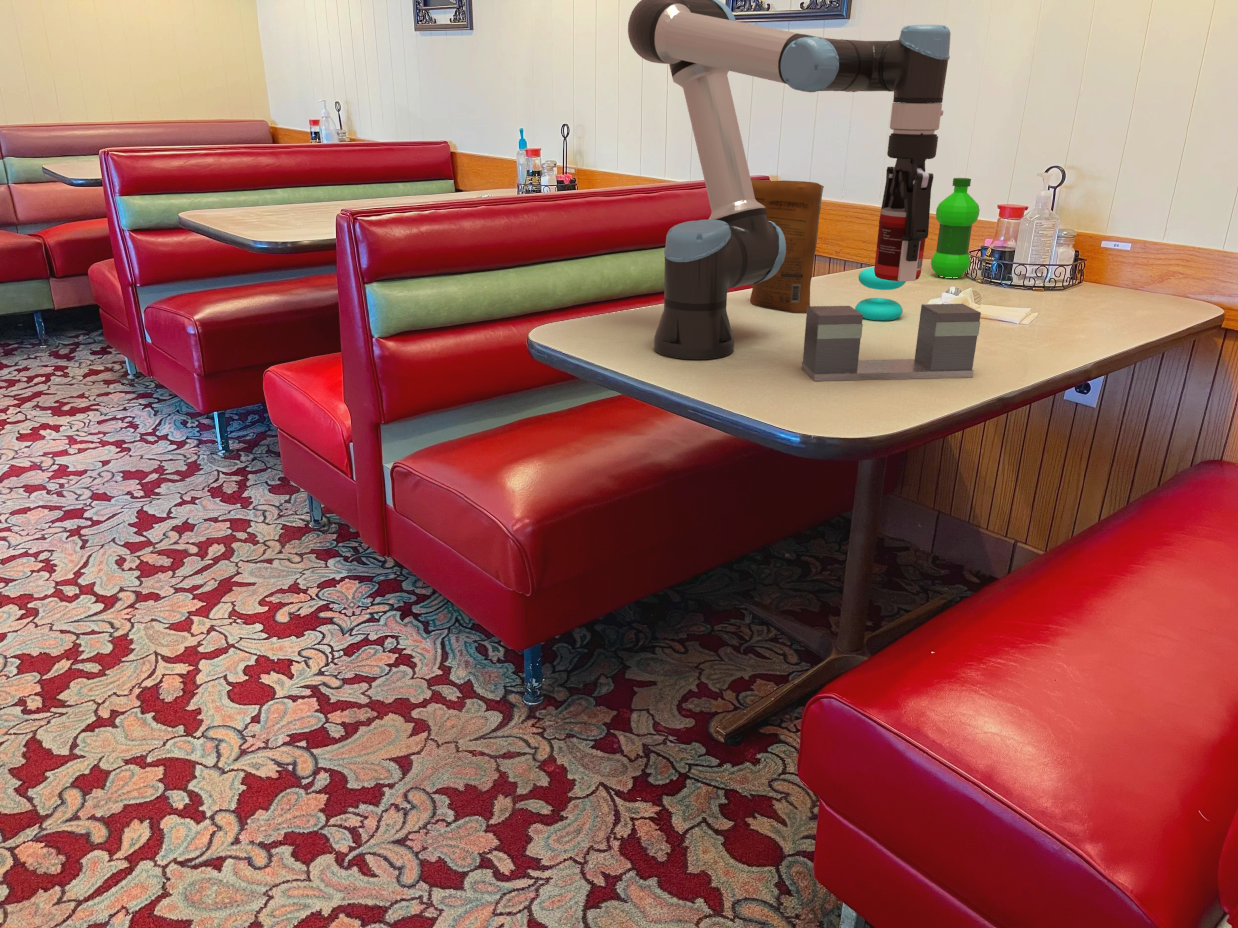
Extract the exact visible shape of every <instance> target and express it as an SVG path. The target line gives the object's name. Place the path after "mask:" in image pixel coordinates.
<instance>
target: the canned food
mask: <svg viewBox="0 0 1238 928" xmlns="http://www.w3.org/2000/svg"><path fill="white" fill-rule="evenodd" d="M879 213H880V214H879V219H880V221H879V220H878V229H877V230H878V232H877V240H876V241H877V242H876V249H875V258H874V259H875V260H874V266H873V268H874V272H875V276H876V277H877V278H880V279H884V280H890V281H898V274H899V265H900V257H901V249H902V240H901V238H902V237H904V236H906V235H905V221H906V213H905V208H904V209H892V208H890V207H888V208H883V209H880V212H879ZM926 239H927V238H923V240H922V241H920V249H919V256H918V264H917V272H916V280H915V281H917V280H918V279H920V276H921V274H922V268H923V260H924V253H925V246H926Z"/></svg>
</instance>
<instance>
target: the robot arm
mask: <svg viewBox="0 0 1238 928" xmlns="http://www.w3.org/2000/svg"><path fill="white" fill-rule="evenodd" d="M627 35H628V36H627V37H628V39H629V42H630V45H631V47H632V49H633V50H634V52H635V53H636V54H637V56H639V57H640V58H642V60H643V59H644V60H645V61H647V62H650V63H655V64H663V65H665V64H666V65H668V66H669V69H670V73H671V77H672V81H673V83H674V84H677V85H678V86H680V87H681V88H682V90H683V93H684V98H685V103H686V105H687V106H686V107H687V112H688V115H689V121H690V123H691V127H692V132H693V136H694V141H695V145H696V149H697V153H698V158H699V162H700V163H699V164H700V167H701V170H702V175H703V180H704V183H705V188H706V192H707V198H708V201H709V206H710V210H711V214H710V216H709V218H708V219H698V220H690V221H689V220H688V221H684V222H681V223H678V224H675V225H673V226H672V227H671V228H670V229H669V230H668V232H667V233H666V237H665V238H666V239H665V247H664V251H663V253H664V254H663V255H664V281H663V282H664V290H663V291H664V293H663V294H664V296H663V298H664V301H663V310H662V313H661V317H660V319H659V322H658V325H657V329H656V330H655V335H654V338H653V349H654V351H655V352H656V353H658V354H660V355H663V356H665V357H668V358H669V357H670V358H673V359H674V358H675V359H683V360H711V359H713V360H714V359H719V358H724V357H727V356H729V355H731V354H732V353H733V352H734V347H735V337H734V334H733V329H732V326H731V322H730V319H729V316H728V313H727V301H728V300H727V298H728V290H729V289H734V288H739V287H744V286H752V285H754V284H757V283H760V282H762V281H765V280H768V279H770V278H771V277H773V276H774V275H775V274H776V273H777V272H778V271H779V269H780V267H781V265H782V264H783V261H784V258H785V254H786V241H785V237H784V234H783V232H782V230H781V229H780V227H778V226H776V224H775V223H773V222H772V221H769V220H768V216H767V212H766V208H765V206H764V205H762V204H760V203H759V202H757V201H756V199H755V196H754V191H753V187H752V183H751V180H752V179H751V175H750V171H749V166H748V161H747V157H746V153H745V148H744V144H743V140H742V136H741V131H740V127H739V122H738V117H737V112H736V108H735V104H734V99H733V95H732V91H731V86H730V82H729V81H730V80H729V77H728V73H729V72H733V73H736V74H737V73H738V74H742V75H745V76H751V77H755V78H758V79H759V78H760V79H764V80H768V81H773V82H777V83H781V84H786V85H788V86H789V88H791V89H793V90H795V91H800V92H804V93H806V92H807V93H817V92H844V93H845V92H846V93H857V92H887V93H888V92H892V93H893V101H892V104H891V114H890V120H889V121H890V122H889V128H890V130H893V131H892V133H890V135H888V143H887V144H888V145H887V157H889V158H891V159H896V161H895V165H894V166H887V168H886V178H885V185H884V190H883V191H884V192H883V196H882V204H881V209H883V208H888V207H890V208H892V209H904V208H905V213H906V221H905V235H906V236H904V237H902V238H901V240H902V249H901V257H900V265H899V274H898V281H906V282H916V281H917V280H916V272H917V264H918V256H919V249H920V241H922V240H923V238H926V239H928V237H929V231H930V230H929V228H930V227H929V225H930V210H931V199H932V198H931V196H932V186H933V181H934V174H933V172H932V173H930V172H929V173H928V172H926V161H927V160H932V159H935V157H936V156H937V148H938V141H939V136H938V134H936V131H938V130H939V129H940V124H941V117H942V116H943V115H944V110H943V109H942V107H943V100H944V91H945V84H946V78H947V70H948V66H949V65H948V62H949V60H950V58H951V56H950V46H951V31H950V28H949V27H947V26H946V25H942V24H911V25H905V26H903V27H902V28H901V30H900V35H899V38H898V39H895V40H860V39H859V40H857V39H842V38H841V39H838V38H837V39H836V38H830V37H828V38H827V37H820V36H815V35H812V34H811V35H810V34H806V33H805V34H804V33H798V32H793V31H788V30H783V29H777V28H773V27H769V26H768V27H767V26H762V25H758V24H757V25H756V24H751V23H746V22H742V21H738V20H736V18H735V15H734V13H733V11H732V10H731V9H730V8H729V6H727V4H725V3H724V2H722V1H721V0H640V1H638V2H637V3H636V5H635V6H634V8H633V9H632V11H631V12H630V15H629V18H628V24H627ZM881 209H880V210H881ZM879 221H880V218H879V220H878V222H879Z"/></svg>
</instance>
